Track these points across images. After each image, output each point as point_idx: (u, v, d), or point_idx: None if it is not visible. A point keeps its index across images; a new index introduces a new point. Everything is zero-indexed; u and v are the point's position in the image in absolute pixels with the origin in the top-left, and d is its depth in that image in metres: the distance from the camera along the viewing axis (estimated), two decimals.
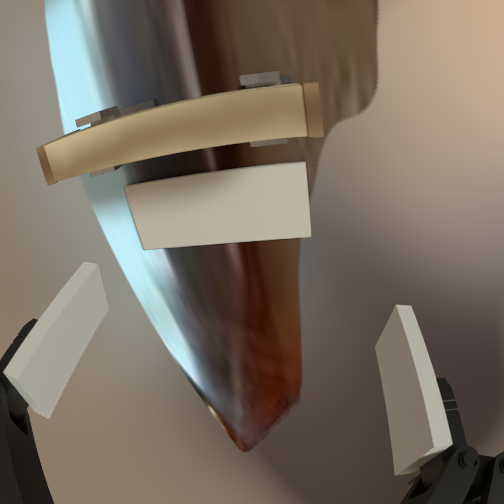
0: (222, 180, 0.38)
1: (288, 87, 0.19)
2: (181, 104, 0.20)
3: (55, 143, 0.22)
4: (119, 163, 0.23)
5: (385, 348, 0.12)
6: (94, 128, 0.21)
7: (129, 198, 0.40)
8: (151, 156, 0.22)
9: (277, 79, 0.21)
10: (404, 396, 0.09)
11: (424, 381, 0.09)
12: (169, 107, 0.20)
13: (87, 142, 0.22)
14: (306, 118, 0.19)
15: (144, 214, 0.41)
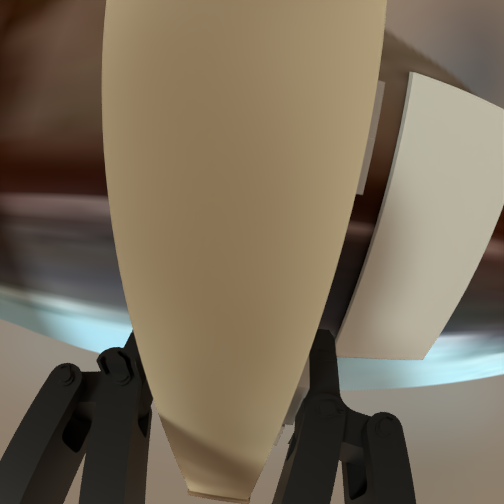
0: (394, 225, 0.20)
1: (109, 15, 0.03)
2: (149, 376, 0.07)
3: (190, 486, 0.14)
4: (259, 469, 0.10)
5: None
6: (180, 464, 0.11)
7: (349, 354, 0.27)
8: (269, 445, 0.09)
9: None
10: None
11: None
12: (155, 394, 0.07)
13: (202, 474, 0.12)
14: None
15: (381, 345, 0.26)
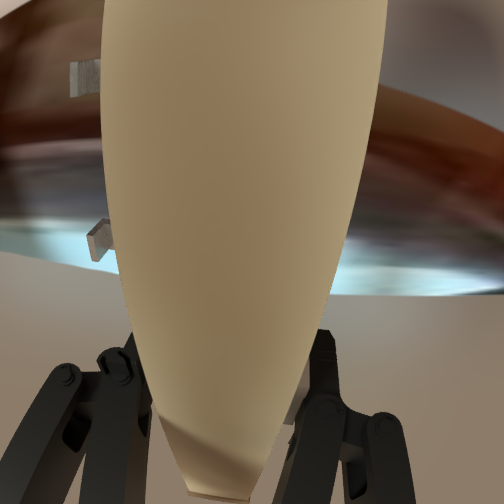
0: None
1: (108, 16, 0.03)
2: (148, 377, 0.07)
3: (189, 486, 0.14)
4: (259, 470, 0.10)
5: None
6: (180, 465, 0.11)
7: None
8: (269, 446, 0.09)
9: (76, 63, 0.18)
10: None
11: None
12: (155, 395, 0.07)
13: (202, 475, 0.12)
14: None
15: None
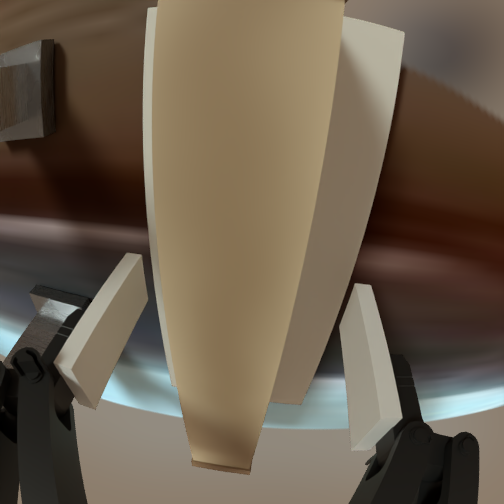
0: None
1: (158, 29, 0.05)
2: (167, 313, 0.09)
3: (194, 453, 0.16)
4: (260, 422, 0.12)
5: (346, 326, 0.13)
6: (186, 423, 0.13)
7: None
8: (269, 389, 0.10)
9: None
10: (359, 370, 0.10)
11: (376, 354, 0.10)
12: (171, 334, 0.09)
13: (207, 435, 0.14)
14: None
15: None
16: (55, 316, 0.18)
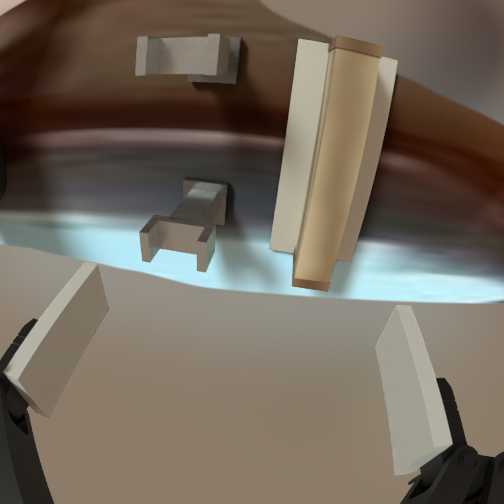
0: (297, 135, 0.30)
1: (335, 58, 0.20)
2: (322, 144, 0.24)
3: (299, 266, 0.31)
4: (346, 216, 0.27)
5: (385, 348, 0.12)
6: (307, 225, 0.28)
7: (284, 249, 0.37)
8: (354, 186, 0.26)
9: (146, 38, 0.17)
10: (404, 396, 0.09)
11: (424, 381, 0.09)
12: (321, 154, 0.25)
13: (315, 236, 0.29)
14: (365, 54, 0.20)
15: None
16: (204, 192, 0.34)
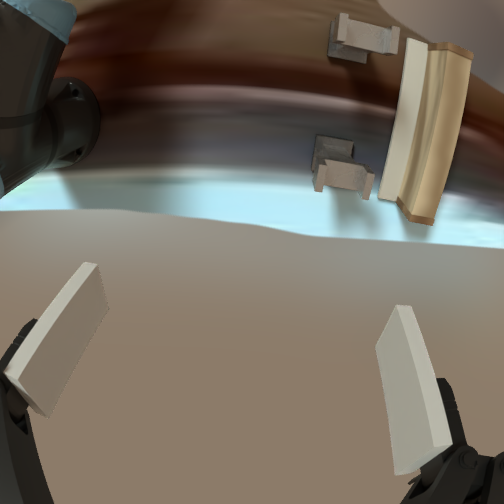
0: (406, 108, 0.35)
1: (447, 56, 0.25)
2: (438, 113, 0.29)
3: (415, 204, 0.36)
4: (449, 166, 0.32)
5: (385, 348, 0.12)
6: (424, 170, 0.33)
7: (389, 197, 0.42)
8: (455, 144, 0.31)
9: (347, 15, 0.22)
10: (404, 396, 0.09)
11: (424, 381, 0.09)
12: (437, 120, 0.30)
13: (429, 179, 0.34)
14: (463, 56, 0.25)
15: None
16: (335, 146, 0.38)
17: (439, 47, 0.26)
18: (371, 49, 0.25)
